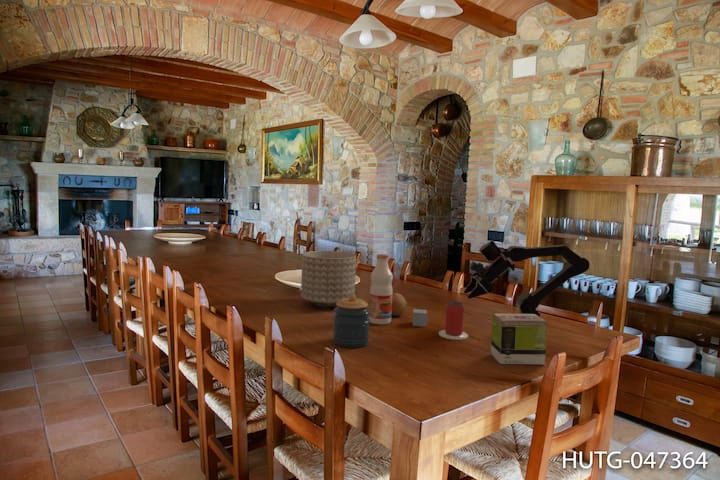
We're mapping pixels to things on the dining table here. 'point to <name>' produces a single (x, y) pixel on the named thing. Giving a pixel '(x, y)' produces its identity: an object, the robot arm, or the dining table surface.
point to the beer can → (454, 318)
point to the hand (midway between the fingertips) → (466, 295)
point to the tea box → (518, 338)
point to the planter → (327, 277)
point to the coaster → (460, 337)
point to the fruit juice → (381, 292)
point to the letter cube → (419, 317)
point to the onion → (398, 304)
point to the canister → (351, 323)
